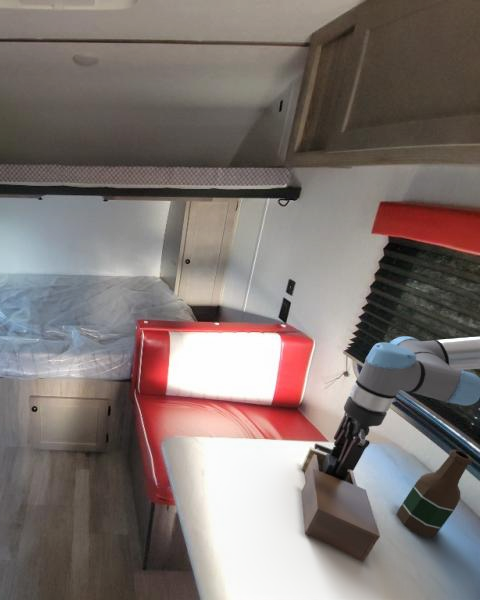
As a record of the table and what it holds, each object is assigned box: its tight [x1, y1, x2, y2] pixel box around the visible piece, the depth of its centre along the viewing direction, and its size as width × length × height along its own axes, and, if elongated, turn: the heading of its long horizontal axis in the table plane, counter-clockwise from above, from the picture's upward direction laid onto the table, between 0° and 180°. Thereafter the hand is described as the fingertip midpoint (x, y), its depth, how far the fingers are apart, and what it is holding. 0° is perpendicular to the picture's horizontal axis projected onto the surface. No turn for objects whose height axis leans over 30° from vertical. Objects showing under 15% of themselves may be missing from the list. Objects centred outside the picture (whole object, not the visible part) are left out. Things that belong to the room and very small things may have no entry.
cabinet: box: [300, 468, 381, 563], centre depth 81 cm, size 13×11×9 cm
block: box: [321, 454, 349, 481], centre depth 88 cm, size 4×4×4 cm
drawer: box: [301, 443, 358, 486], centre depth 92 cm, size 17×10×8 cm, turn 151°
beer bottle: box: [395, 448, 473, 540], centre depth 80 cm, size 8×8×24 cm
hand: (332, 474), depth 89 cm, fingers closed on block, 4 cm apart
